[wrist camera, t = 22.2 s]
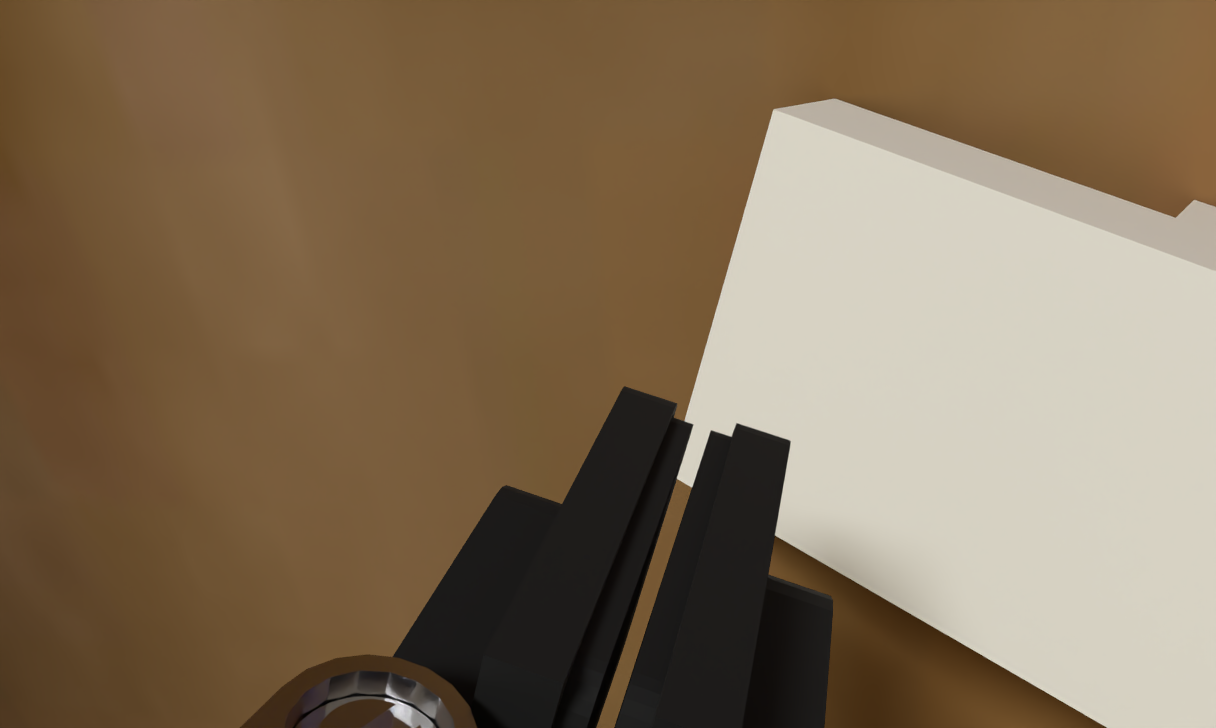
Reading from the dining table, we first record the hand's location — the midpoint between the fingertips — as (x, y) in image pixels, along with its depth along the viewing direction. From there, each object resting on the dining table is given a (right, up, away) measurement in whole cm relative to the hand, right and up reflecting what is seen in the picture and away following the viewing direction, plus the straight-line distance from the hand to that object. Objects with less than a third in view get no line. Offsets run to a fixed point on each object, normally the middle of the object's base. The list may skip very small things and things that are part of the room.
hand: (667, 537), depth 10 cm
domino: (+2, +3, +6) cm, 7 cm away
